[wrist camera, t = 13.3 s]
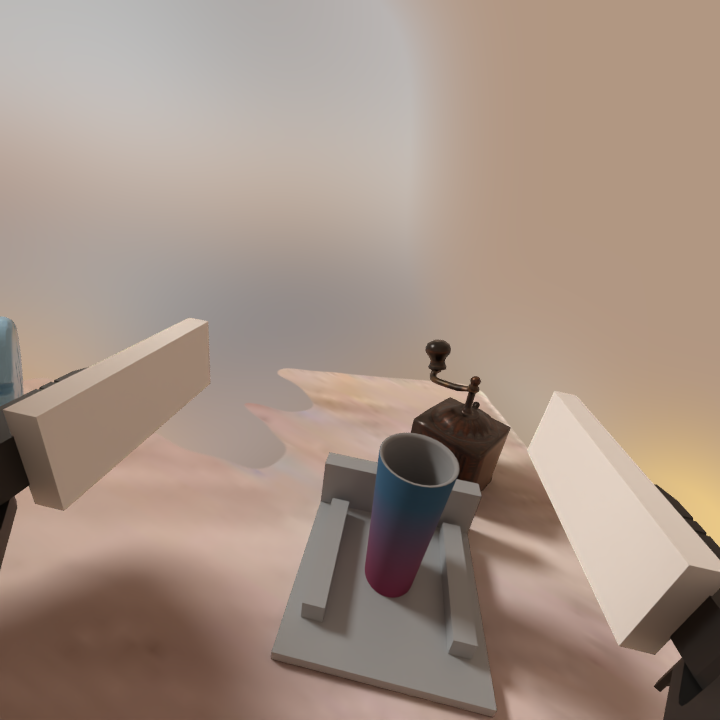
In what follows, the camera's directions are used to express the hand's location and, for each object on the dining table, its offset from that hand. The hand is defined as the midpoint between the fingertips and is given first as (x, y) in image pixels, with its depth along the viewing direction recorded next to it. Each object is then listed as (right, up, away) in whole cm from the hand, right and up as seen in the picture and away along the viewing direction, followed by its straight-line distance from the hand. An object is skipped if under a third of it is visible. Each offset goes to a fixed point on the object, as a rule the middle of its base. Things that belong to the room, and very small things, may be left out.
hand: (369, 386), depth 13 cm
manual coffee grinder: (+11, -15, +40) cm, 45 cm away
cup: (+3, -21, +22) cm, 31 cm away
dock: (+2, -22, +22) cm, 31 cm away
